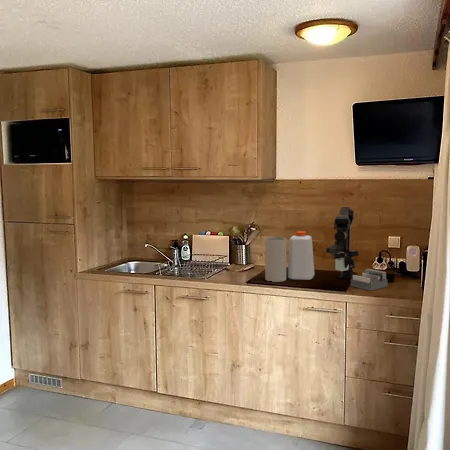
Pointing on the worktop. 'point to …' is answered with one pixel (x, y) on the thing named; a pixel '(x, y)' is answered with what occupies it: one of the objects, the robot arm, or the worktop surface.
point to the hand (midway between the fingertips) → (342, 267)
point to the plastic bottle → (301, 257)
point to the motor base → (370, 280)
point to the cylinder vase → (275, 259)
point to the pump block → (340, 264)
